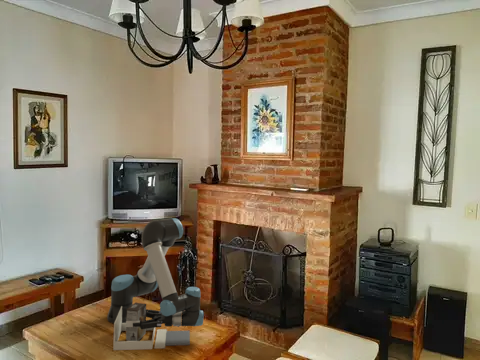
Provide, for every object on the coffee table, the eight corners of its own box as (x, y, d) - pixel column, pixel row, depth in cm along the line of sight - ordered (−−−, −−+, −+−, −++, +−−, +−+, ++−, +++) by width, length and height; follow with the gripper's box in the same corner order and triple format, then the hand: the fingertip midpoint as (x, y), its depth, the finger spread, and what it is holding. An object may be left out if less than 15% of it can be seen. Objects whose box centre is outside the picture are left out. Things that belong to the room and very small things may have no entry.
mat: (166, 332, 197) (166, 331, 197) (189, 331, 199) (189, 330, 199) (165, 345, 183) (165, 344, 183) (189, 344, 185) (189, 343, 185)
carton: (120, 330, 196) (121, 306, 196) (166, 329, 200) (167, 305, 199) (113, 350, 177) (114, 323, 176) (164, 348, 180) (165, 322, 179)
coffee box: (134, 332, 193) (135, 301, 192) (145, 334, 192) (146, 303, 191) (125, 340, 184) (126, 309, 183) (137, 342, 183) (138, 310, 182)
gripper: (171, 336, 179) (123, 337, 176) (173, 315, 201) (130, 316, 198) (172, 321, 178) (124, 322, 175) (173, 302, 201) (131, 302, 197)
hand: (127, 319), depth 186 cm, fingers closed on coffee box, 10 cm apart
